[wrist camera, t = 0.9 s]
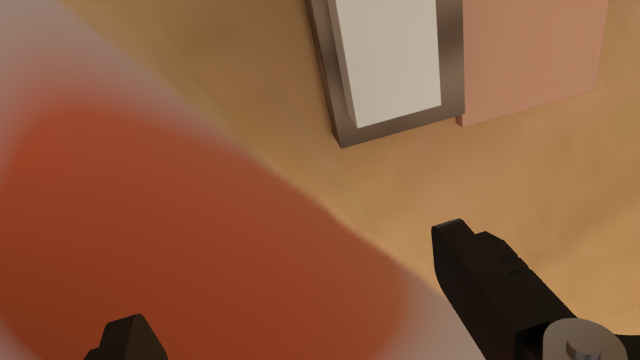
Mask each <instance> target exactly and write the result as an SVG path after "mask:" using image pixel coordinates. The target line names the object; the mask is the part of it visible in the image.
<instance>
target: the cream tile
mask: <svg viewBox="0 0 640 360" xmlns="http://www.w3.org/2000/svg"><path fill="white" fill-rule="evenodd" d="M327 1H328V7H329V12H330V18H331V23H332V29H333V34H334V40H335V45H336V51H337V56H338V62H339V67H340V73H341V78H342V84H343V89H344V95H345V100H346V106H347V111H348V116H349V117H350V118H351V120H352V121H353V123H354V124H355V125H356V127H357V128H361V127H364V126H368V125H372V124H375V123H379V122H382V121H386V120H390V119H393V118H397V117H400V116H404V115H408V114H411V113H415V112H418V111H422V110H425V109H429V108H433V107H436V106H440V105H441V92H440V74H439V56H438V37H437V19H436V0H327Z"/></svg>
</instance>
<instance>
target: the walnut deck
mask: <svg viewBox="0 0 640 360" xmlns="http://www.w3.org/2000/svg"><path fill="white" fill-rule="evenodd" d="M306 5H307V10H308V15H309V20H310V25H311V29H312V34H313V39H314V44H315V49H316V53H317V58H318V63H319V68H320V73H321V78H322V82H323V87H324V92H325V97H326V102H327V106H328V111H329V116H330V121H331V126H332V131H333V135H334V137H335V139H336V141H337V142H338V144H339V146H340V148H341V149H342V148H345V147H349V146H352V145H356V144H359V143H363V142H366V141H370V140H374V139H377V138H381V137H384V136H388V135H391V134H395V133H398V132H402V131H406V130H409V129H413V128H416V127H420V126H423V125H427V124H430V123H434V122H438V121H441V120H445V119H448V118H452V117H455V116H459V115H463V114H465V85H464V41H463V0H436V19H437V37H438V56H439V74H440V92H441V105H440V106H436V107H433V108H429V109H425V110H422V111H418V112H415V113H411V114H408V115H404V116H400V117H397V118H393V119H390V120H386V121H382V122H379V123H375V124H372V125H368V126H364V127H361V128H357V127H356V125H355V124H354V123H353V121H352V120H351V118H350V117H349V116H348V111H347V106H346V100H345V95H344V89H343V84H342V78H341V73H340V67H339V62H338V56H337V51H336V45H335V40H334V34H333V29H332V23H331V18H330V12H329V7H328V1H327V0H306Z"/></svg>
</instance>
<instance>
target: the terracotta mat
mask: <svg viewBox="0 0 640 360" xmlns="http://www.w3.org/2000/svg"><path fill="white" fill-rule="evenodd" d="M608 4H609V0H463V41H464V85H465V114H463V115H459V116H456V117H457V124H458V125H460V126H461V127H462V128H463V127H467V126H470V125H474V124H477V123H481V122H484V121H488V120H491V119H495V118H498V117H502V116H506V115H509V114H513V113H516V112H520V111H523V110H527V109H530V108H534V107H537V106H541V105H544V104H548V103H551V102H555V101H559V100H562V99H566V98H569V97H573V96H576V95H580V94H583V93H587V92H590V91H594V90H596V84H597V77H598V71H599V64H600V57H601V51H602V44H603V37H604V31H605V24H606V17H607V11H608Z"/></svg>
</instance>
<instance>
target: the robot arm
mask: <svg viewBox="0 0 640 360" xmlns="http://www.w3.org/2000/svg"><path fill="white" fill-rule="evenodd" d="M431 235H432V246H433V257H434V268H435V273H436V277H437V280H438V282H439V285H440V287H441V289H442V291H443V292H444V294H445V296H446V297H447V299H448V300H449V302H450V303H451V305H452V307H453V308H454V310H455V311H456V313H457V314H458V316H459V317H460V319H461V321H462V322H463V324H464V326H465V327H466V329H467V330H468V332H469V333H470V335H471V337H472V338H473V340H474V341H475V343H476V345H477V346H478V348H479V349H480V351H481V352H482V354H483V356H484V357H485V359H486V360H640V335H617V334H613V333H612V332H611V331H609V330H608V329H606V328H605V327H603V326H601V325H599V324H597V323H595V322H592V321H589V320H585V319H579V318H577V317H576V316H575V315H574V314H573V313H572V312H571V311H570V310H569V309H568V308H567V307H566V306H565V305H564V304H563V302H562V301H561V300H560V299H559V298H558V297H557V296H556V295H555V294H554V293H553V292H552V291H551V290H550V289H549V288H548V287H547V286H546V284H545V283H544V282H543V281H542V280H541V279H540V278H539V277H538V276H537V275H536V274H535V273H534V272H533V271H532V270H531V269H529V267H528V265H527V264H526V263H525V262H524V261H523V260H522V259H521V258H518V255H517V254H516V253H515V252H514V251H513V250H512V248H511V247H510V246H509V245H508V244H507V243H506V242H505V241H504V240H502V239H500V238H498V237H496V236H494V235H492V234H490V233H488V232H486V231H484V232H481V233H478V234H474V232H473V231H472V230H471V229H470V228H469V227H468V226H467V224H466V223H465V222H464V221H463V220H462V219H460V218H458V219H455V220H452V221H448V222H445V223H442V224H438V225H435V226H432V229H431ZM84 360H168V357H167V354H166V352H165V350H164V348H163V346H162V345H161V343H160V342H159V340H158V339H157V337H156V335H155V334H154V332H153V331H152V329H151V327H150V326H149V324H148V322H147V321H146V319H145V318H144V317H143V316H142V315H141V314H135V315H132V316H128V317H125V318H122V319H119V320H115V321H112V322H109V323H108V324H107V325H106V327H105V329H104V332H103V335H102V339H101V342H100V345H99V348H95V349H92V350H90V351H89V352H88V354H87V355H86V357H85V358H84Z"/></svg>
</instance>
